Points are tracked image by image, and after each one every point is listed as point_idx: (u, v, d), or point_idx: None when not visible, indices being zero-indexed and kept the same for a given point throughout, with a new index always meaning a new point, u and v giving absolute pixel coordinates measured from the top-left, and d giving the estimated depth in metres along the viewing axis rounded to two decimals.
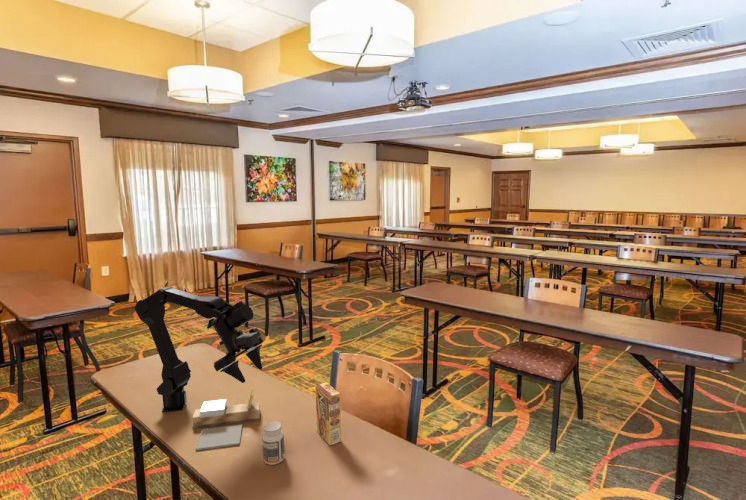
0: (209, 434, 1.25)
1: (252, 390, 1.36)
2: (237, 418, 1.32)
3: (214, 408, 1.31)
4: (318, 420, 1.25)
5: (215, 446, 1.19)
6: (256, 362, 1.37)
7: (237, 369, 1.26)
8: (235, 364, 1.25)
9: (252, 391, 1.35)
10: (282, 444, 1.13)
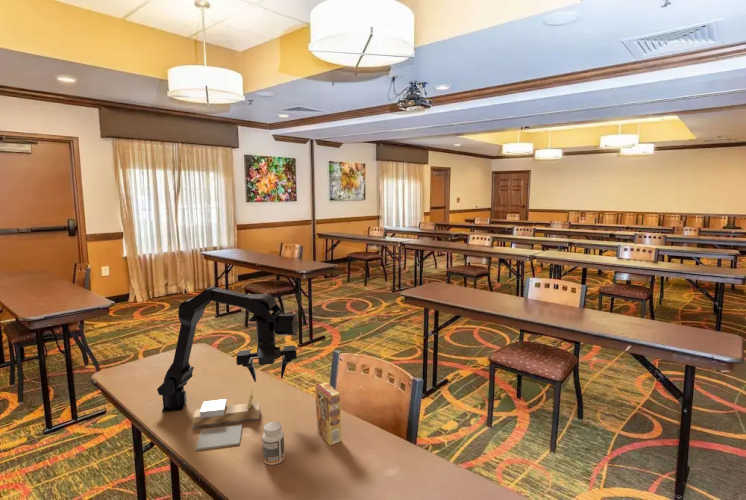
0: (209, 434, 1.25)
1: (252, 390, 1.36)
2: (237, 418, 1.32)
3: (214, 408, 1.31)
4: (318, 420, 1.25)
5: (215, 446, 1.19)
6: (281, 369, 1.36)
7: (250, 370, 1.32)
8: (247, 366, 1.31)
9: (252, 391, 1.35)
10: (282, 444, 1.13)
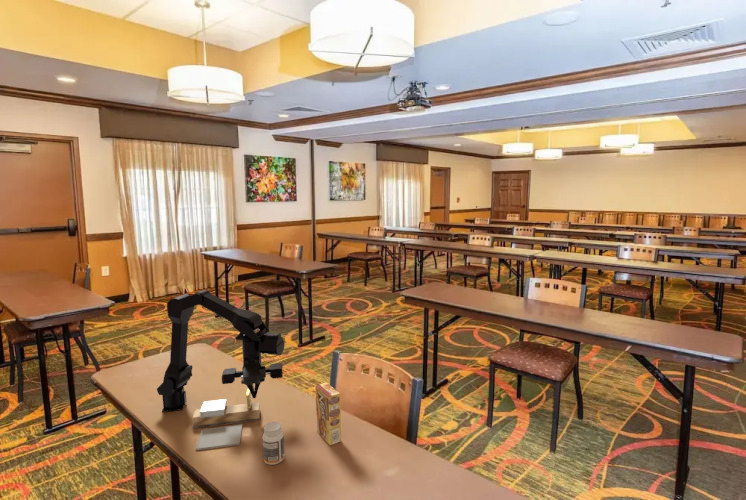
0: (209, 434, 1.25)
1: (248, 390, 1.36)
2: (237, 418, 1.32)
3: (214, 408, 1.31)
4: (318, 420, 1.25)
5: (215, 446, 1.19)
6: None
7: (249, 387, 1.33)
8: None
9: (248, 391, 1.35)
10: (282, 444, 1.13)
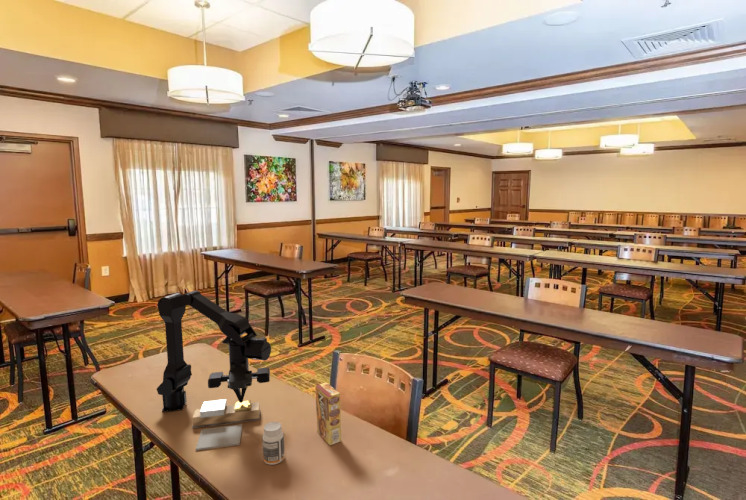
0: (209, 434, 1.25)
1: None
2: (237, 418, 1.32)
3: (214, 408, 1.31)
4: (318, 420, 1.25)
5: (215, 446, 1.19)
6: (241, 393, 1.34)
7: (235, 391, 1.32)
8: None
9: (235, 405, 1.35)
10: (282, 444, 1.13)
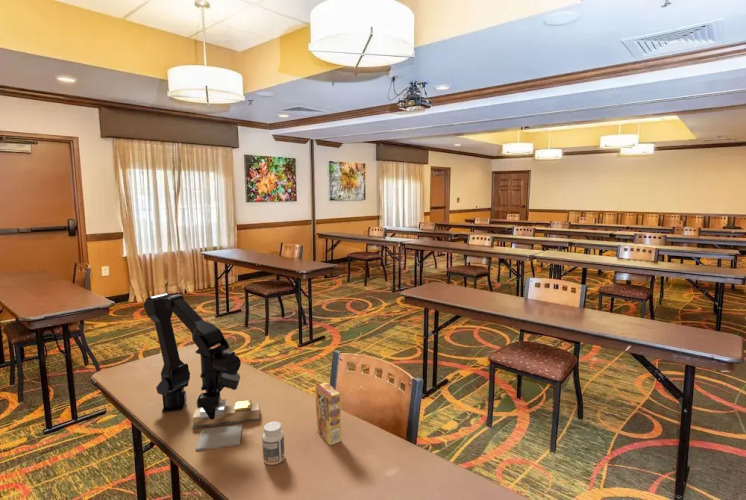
0: (209, 434, 1.25)
1: None
2: (237, 418, 1.32)
3: None
4: (318, 420, 1.25)
5: (215, 446, 1.19)
6: None
7: (215, 407, 1.28)
8: None
9: (235, 405, 1.35)
10: (282, 444, 1.13)
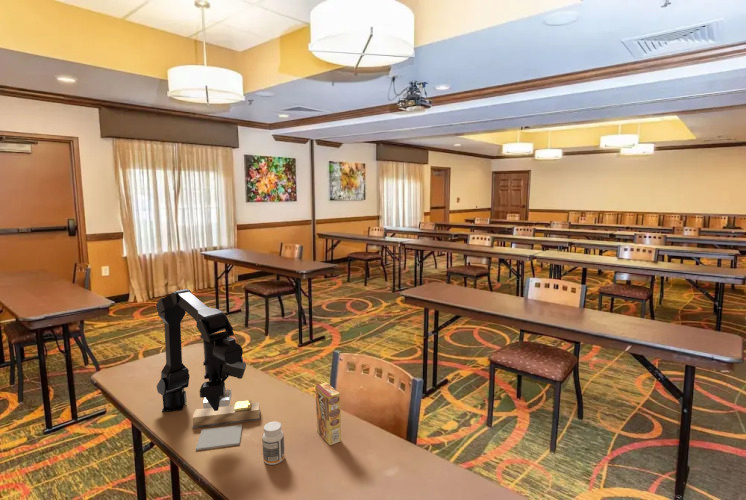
0: (209, 434, 1.25)
1: None
2: (237, 418, 1.32)
3: None
4: (318, 420, 1.25)
5: (215, 446, 1.19)
6: None
7: (219, 397, 1.18)
8: None
9: (235, 405, 1.35)
10: (282, 444, 1.13)
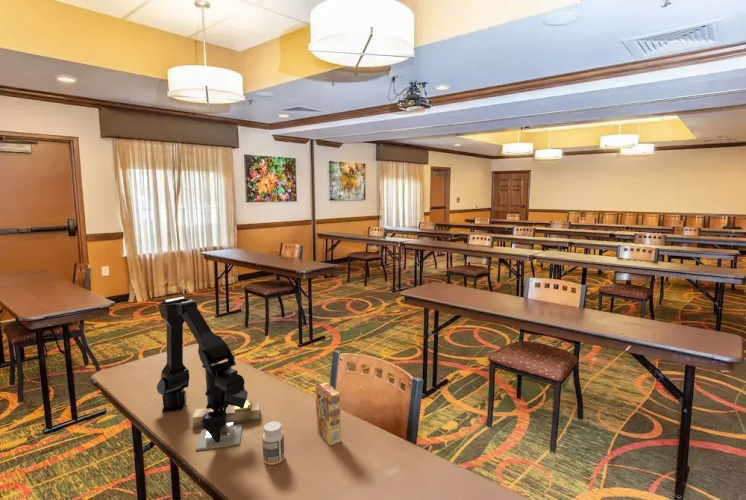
0: None
1: None
2: (237, 418, 1.32)
3: (221, 433, 1.22)
4: (318, 420, 1.25)
5: (215, 446, 1.19)
6: None
7: None
8: None
9: None
10: (282, 444, 1.13)
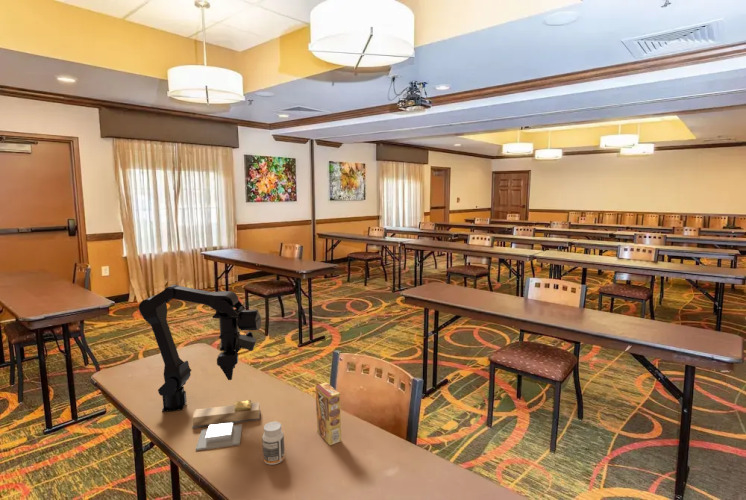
0: None
1: None
2: (237, 418, 1.32)
3: (221, 433, 1.22)
4: (318, 420, 1.25)
5: (215, 446, 1.19)
6: None
7: (233, 367, 1.35)
8: None
9: (235, 405, 1.35)
10: (282, 444, 1.13)
